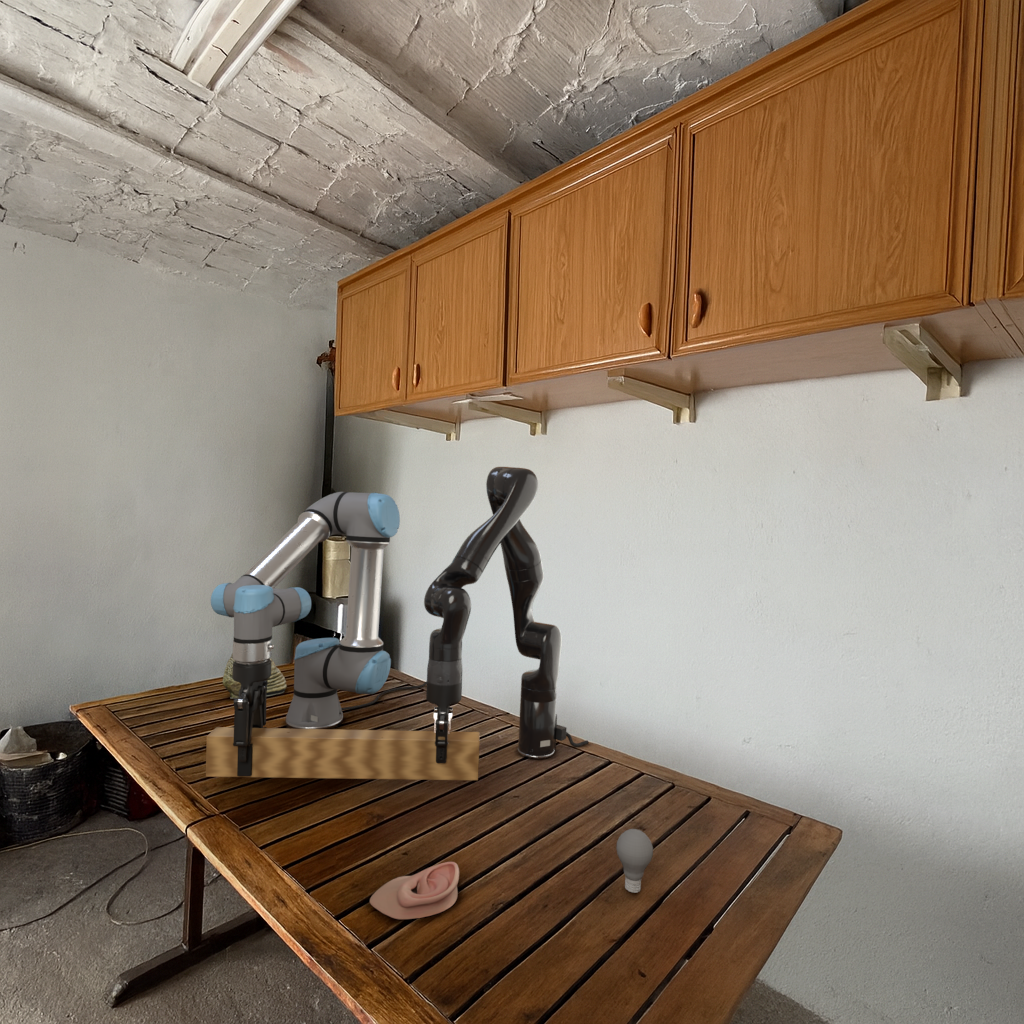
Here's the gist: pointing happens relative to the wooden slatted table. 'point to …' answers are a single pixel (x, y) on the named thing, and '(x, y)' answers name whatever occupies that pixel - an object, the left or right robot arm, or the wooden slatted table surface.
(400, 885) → the anatomical model
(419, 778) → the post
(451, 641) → the right robot arm
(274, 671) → the fossil
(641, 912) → the wooden slatted table surface
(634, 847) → the light bulb
